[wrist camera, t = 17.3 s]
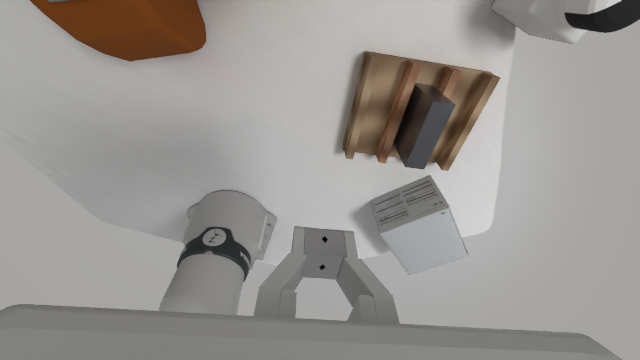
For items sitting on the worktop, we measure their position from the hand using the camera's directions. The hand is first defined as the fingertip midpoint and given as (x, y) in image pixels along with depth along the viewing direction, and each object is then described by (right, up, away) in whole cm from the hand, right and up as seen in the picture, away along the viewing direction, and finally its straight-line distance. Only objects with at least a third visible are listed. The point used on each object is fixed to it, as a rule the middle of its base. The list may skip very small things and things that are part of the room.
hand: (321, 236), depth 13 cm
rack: (+15, +14, +29) cm, 35 cm away
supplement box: (+20, -4, +43) cm, 48 cm away
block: (+15, +13, +28) cm, 34 cm away
